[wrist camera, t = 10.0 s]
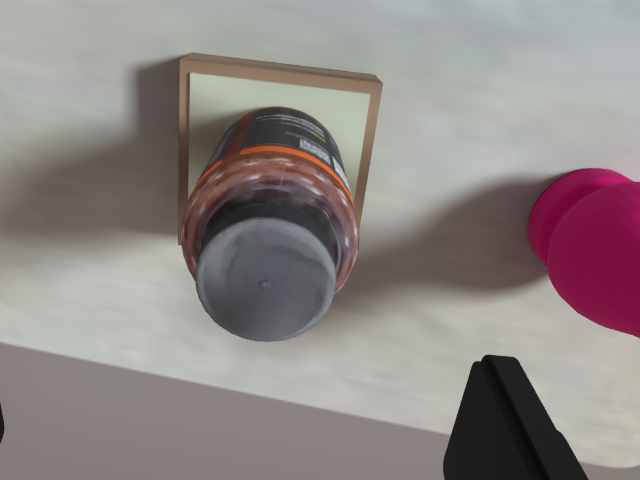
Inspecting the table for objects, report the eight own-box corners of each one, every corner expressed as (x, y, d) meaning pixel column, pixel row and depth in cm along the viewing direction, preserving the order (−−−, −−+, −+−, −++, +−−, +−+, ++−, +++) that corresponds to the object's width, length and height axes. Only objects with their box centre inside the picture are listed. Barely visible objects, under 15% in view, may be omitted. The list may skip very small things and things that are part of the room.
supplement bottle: (219, 224, 26) (164, 372, 16) (211, 102, 24) (140, 181, 13) (340, 226, 26) (364, 372, 16) (345, 104, 24) (376, 183, 13)
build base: (193, 52, 26) (178, 59, 23) (375, 74, 26) (383, 84, 23) (190, 222, 29) (177, 246, 26) (349, 237, 30) (354, 263, 27)
